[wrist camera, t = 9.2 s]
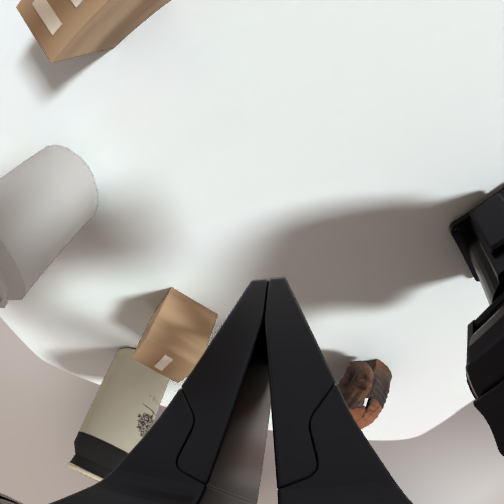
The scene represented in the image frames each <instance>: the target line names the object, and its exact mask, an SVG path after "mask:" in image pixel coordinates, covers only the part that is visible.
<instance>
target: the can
mask: <svg viewBox="0 0 504 504" xmlns="http://www.w3.org/2000/svg"><path fill="white" fill-rule="evenodd" d="M97 207H98V191H97V187H96V183H95V179H94V176H93V174H92V172H91V170H90V168H89V166H88V165H87V164H86V163H85V161H84V160H83V159H82V158H81V157H80V156H78V155H77V154H75V153H74V152H73V151H71V150H70V149H68V148H66V147H62V146H59V145H52V146H47V147H45V148H44V149H42V150H41V151H39V152H38V153H36V154H35V155H33V156H32V157H30V158H29V159H27V160H26V161H24V162H23V163H21V164H20V165H19V166H17V167H16V168H14V169H13V170H12V171H10V172H9V173H8V174H6V175H5V176H4V177H2V178H1V179H0V308H4V307H5V306H6V304H7V300H20V299H22V298H23V297H24V296H25V294H26V293H27V292H28V291H29V289H30V288H31V287H32V286H33V284H34V283H35V282H36V281H37V279H38V278H39V277H40V276H41V274H42V273H43V272H44V271H45V270H46V268H47V267H48V266H49V265H50V264H51V262H52V261H53V260H54V259H55V258H56V257H57V255H58V254H59V253H60V252H61V251H62V250H63V249H64V247H65V246H66V245H67V244H68V243H69V242H70V241H71V240H72V238H73V237H74V236H75V235H76V234H77V233H78V232H79V231H80V230H81V229H82V228H83V227H84V225H85V224H86V223H87V222H88V221H89V220H90V219H91V218H92V217H93V216H94V215H95V212H96V210H97Z"/></svg>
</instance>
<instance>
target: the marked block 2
mask: <svg viewBox="0 0 504 504" xmlns="http://www.w3.org/2000/svg"><path fill="white" fill-rule="evenodd" d="M217 315H218V314H216V313H214V312H213V311H211V310H209V309H208V308H206V307H204V306H202V305H201V304H199V303H197V302H196V301H194V300H192V299H191V298H189V297H187V296H186V295H184V294H182V293H181V292H179V291H177V290H176V289H174V288H171V289H170V290H169V292H168V293H167V295H166V296H165V298H164V299H163V300H162V302H161V303H160V305H159V306H158V308H157V309H156V310H155V312H154V314H153V316H152V318H151V320H150V322H149V324H148V326H147V328H146V330H145V332H144V334H143V336H142V338H141V340H140V342H139V344H138V346H137V348H136V350H135V352H134V354H133V356H132V358H133V359H134V360H136V361H138V362H140V363H141V364H143V365H145V366H147V367H149V368H151V369H152V370H154V371H156V372H158V373H160V374H162V375H164V376H165V377H167V378H169V379H171V380H173V381H175V382H177V383H178V382H180V381H181V380H183V379H184V378H185V377H187V376H188V375H189V374H190V373H191V371H192V370H193V368H194V367H195V365H196V364H197V362H198V361H199V359H200V358H201V357H202V355H203V354H204V352H205V350H206V347H207V344H208V341H209V338H210V335H211V333H212V330H213V327H214V324H215V321H216V318H217Z"/></svg>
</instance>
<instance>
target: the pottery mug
mask: <svg viewBox="0 0 504 504" xmlns="http://www.w3.org/2000/svg"><path fill="white" fill-rule="evenodd" d="M391 378H392V375H391V372H390V370H389V368H388V367H387V366H386V365H385V364H384V363H382V362H381V361H380V360H378V359H376V360H375V362H374V369H373V370H372V368H371V367H370V365H368V364H367V363H366V362H365V361H353V362H350V364H349V367H347V370H346V373H345V375H344V377H343V378H342V379H341V380H340V382H339V384H338V387H339V390H340V392H341V394H342V396H343V398H344V400H345V402H346V404H347V406H348V408H349V410H350V412H351V414H352V416H353V418H354V419H355V421H356V423H357V424H358V426H359V428H360V429H362V428H364V427H366V426H368V425H369V424H371V423H373V422H374V420H375V419H376V418H377V417H378V415H379V413H380V412H381V410H382V409H383V407H384V404H385V402H386V398H387V394H388V393H389V387H390V381H391ZM365 398H369V399H368V402H367V405H366V407H365V406H363V404H364V399H365Z"/></svg>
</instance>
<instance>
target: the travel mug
mask: <svg viewBox="0 0 504 504" xmlns="http://www.w3.org/2000/svg"><path fill="white" fill-rule="evenodd" d="M134 352H135V349H130V348H123V349H120V350H118V352H117V354H116V356H115V358H114V360H113V362H112V364H111V366H110V368H109V370H108V371H107V373H106V375H105V378H104V380H103V382H102V384H101V386H100V388H99V390H98V392H97V394H96V396H95V398H94V400H93V402H92V404H91V406H90V409H89V411H88V413H87V415H86V417H85V419H84V421H83V424H82V426H81V428H80V430H79V432H78V435H77V437H76V439H75V442H74V445H75V454H76V455H75V456H74V457H73V459H72V460H71V461H70V462H68V463H67V465H68V466H69V467H71V468H73V469H74V470H76V471H78V472H80V473H82V474H84V475H86V476H88V477H90V478H92V479H94V480H96V481H98V482H100V481H101V480H103V479H104V478H105V477H106V476H108V475H109V474H110V473H111V472H112V471H113V470H114V469H115V468H116V467H117V466H118V465H119V464H120V463H121V461H122V460H123V459H124V458H125V457H126V456H127V455H128V454H129V452H130V451H131V450H132V449H133V448H134V447H135V446H136V445H137V443H138V442H139V441H140V440H141V439H142V438H143V437H144V436H145V434H146V433H147V432H148V431H149V430H150V428H151V426H152V424H153V421H154V419H155V416H156V413H157V410H158V408H159V405H160V403H161V400H162V398H163V395H164V392H165V390H166V387H167V385H168V382H169V380H170V379H169V378H167V377H165V376H164V375H162V374H160V373H158V372H156V371H154V370H152V369H151V368H149V367H147V366H145V365H143V364H141V363H140V362H138V361H136V360H134V359H133V358H132V356H133V354H134Z"/></svg>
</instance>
